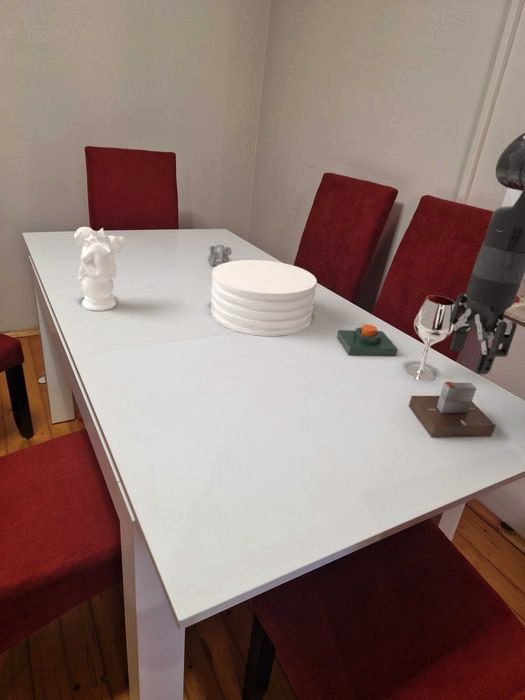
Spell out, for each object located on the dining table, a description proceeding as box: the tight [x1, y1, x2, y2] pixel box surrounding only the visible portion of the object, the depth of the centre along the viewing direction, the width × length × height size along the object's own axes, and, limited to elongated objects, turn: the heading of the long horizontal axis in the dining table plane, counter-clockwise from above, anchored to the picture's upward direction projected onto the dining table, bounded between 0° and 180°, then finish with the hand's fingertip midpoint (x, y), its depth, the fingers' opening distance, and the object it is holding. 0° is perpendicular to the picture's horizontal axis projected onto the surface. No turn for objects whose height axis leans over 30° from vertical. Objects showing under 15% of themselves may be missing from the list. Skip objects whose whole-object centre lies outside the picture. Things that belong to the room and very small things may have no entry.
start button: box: [361, 323, 378, 336], centre depth 111 cm, size 4×4×2 cm
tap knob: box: [437, 381, 477, 413], centre depth 85 cm, size 6×2×6 cm, turn 98°
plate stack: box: [210, 259, 318, 337], centre depth 124 cm, size 28×28×12 cm
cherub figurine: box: [73, 226, 126, 312], centre depth 118 cm, size 12×12×22 cm
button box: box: [336, 326, 398, 357], centre depth 112 cm, size 12×10×4 cm
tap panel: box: [408, 395, 497, 438], centre depth 87 cm, size 12×10×3 cm
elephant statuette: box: [207, 244, 233, 266], centre depth 162 cm, size 9×12×8 cm
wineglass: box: [405, 294, 456, 382], centre depth 99 cm, size 8×8×18 cm
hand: (467, 360), depth 81 cm, fingers open, 8 cm apart
